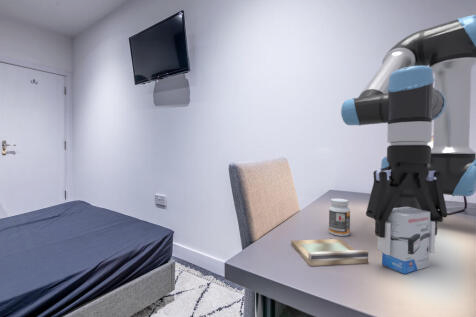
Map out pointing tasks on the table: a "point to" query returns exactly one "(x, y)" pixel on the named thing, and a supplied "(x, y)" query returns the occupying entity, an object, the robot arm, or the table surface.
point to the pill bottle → (339, 217)
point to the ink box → (408, 240)
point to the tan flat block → (329, 252)
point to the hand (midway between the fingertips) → (405, 251)
